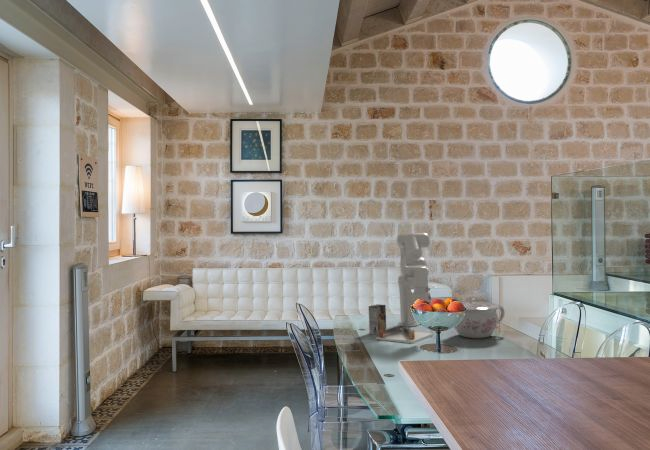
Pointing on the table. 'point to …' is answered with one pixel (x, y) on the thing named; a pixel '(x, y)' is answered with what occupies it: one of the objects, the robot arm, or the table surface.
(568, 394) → the table surface
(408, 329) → the tong arm
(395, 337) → the plate
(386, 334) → the tong base
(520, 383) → the table surface
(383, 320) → the coffee box
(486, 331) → the chamber pot
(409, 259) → the robot arm
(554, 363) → the table surface
